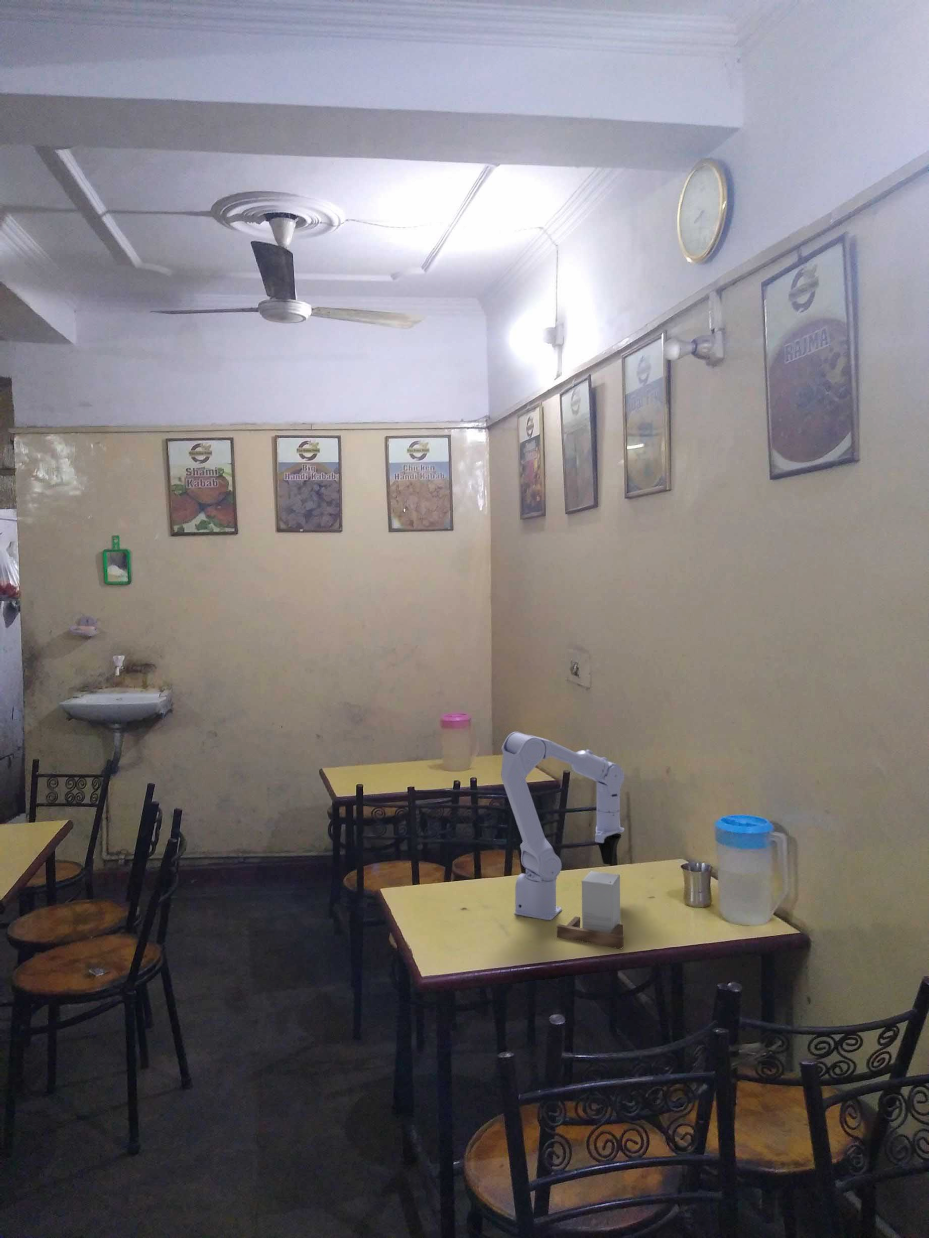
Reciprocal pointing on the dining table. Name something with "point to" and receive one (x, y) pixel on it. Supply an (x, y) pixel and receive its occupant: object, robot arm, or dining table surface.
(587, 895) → the supplement box
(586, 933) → the walnut clip
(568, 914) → the dining table surface
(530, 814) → the robot arm
